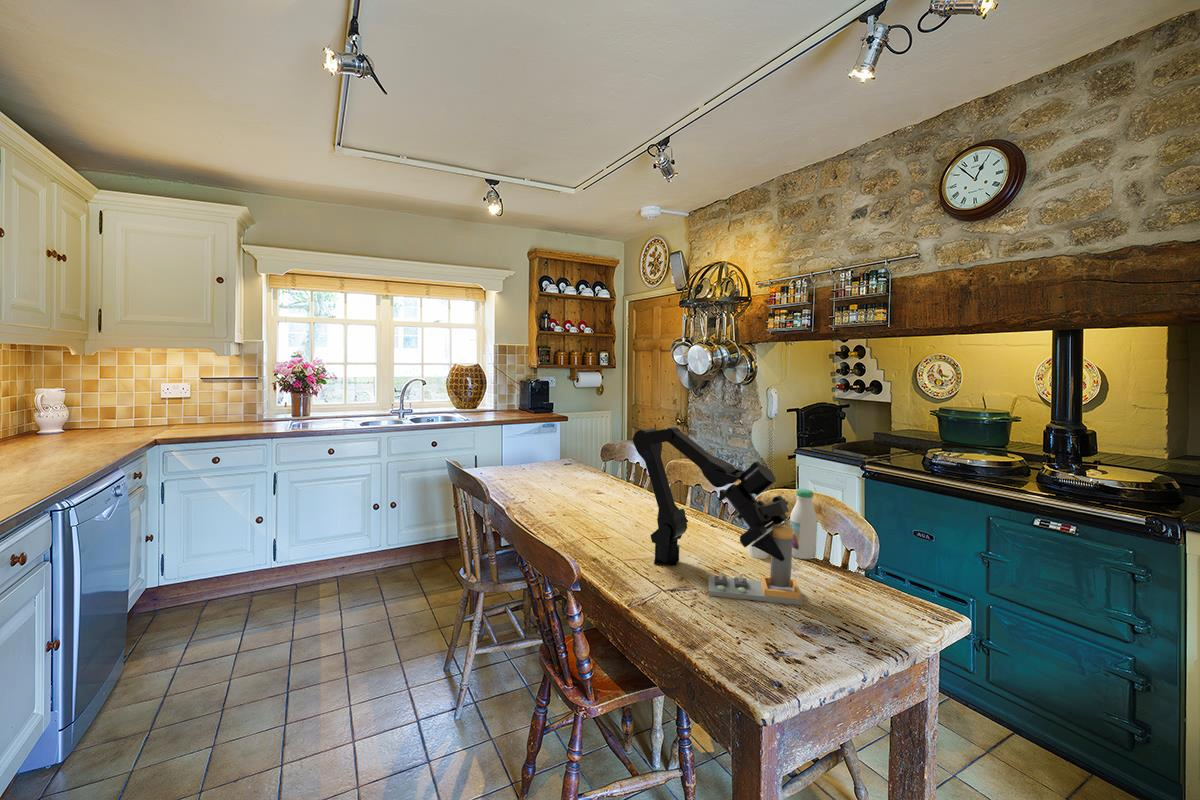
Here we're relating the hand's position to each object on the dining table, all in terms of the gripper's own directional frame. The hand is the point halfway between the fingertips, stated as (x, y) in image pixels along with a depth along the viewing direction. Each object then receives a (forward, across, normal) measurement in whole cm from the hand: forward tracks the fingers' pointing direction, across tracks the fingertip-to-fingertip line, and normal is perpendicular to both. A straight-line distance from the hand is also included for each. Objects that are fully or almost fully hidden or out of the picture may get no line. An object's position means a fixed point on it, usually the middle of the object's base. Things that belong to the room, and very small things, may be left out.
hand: (786, 557), depth 127 cm
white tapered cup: (-4, +23, +18) cm, 30 cm away
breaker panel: (+2, -3, +12) cm, 13 cm away
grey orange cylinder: (+4, 0, +6) cm, 7 cm away
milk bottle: (+3, +32, +11) cm, 34 cm away
